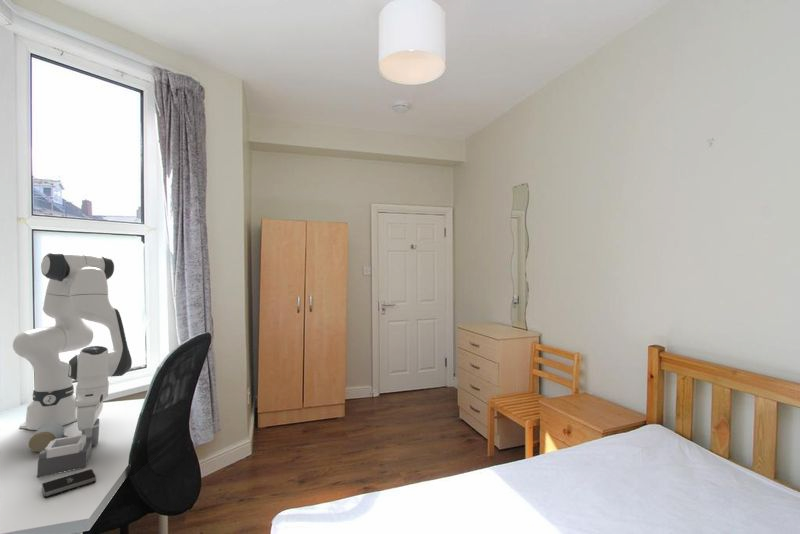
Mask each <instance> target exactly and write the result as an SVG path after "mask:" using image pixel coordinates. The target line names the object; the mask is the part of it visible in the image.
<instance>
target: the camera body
mask: <svg viewBox="0 0 800 534" xmlns="http://www.w3.org/2000/svg"><path fill="white" fill-rule="evenodd" d="M91 443H92V440H91V441H86V435H85V434H83V435H82V434H78V435H72V436H69V437H64V438H58V439H54V441H51V442H50V443H49V444H48V446H47V447H46V448H45V450H43V451H41V452H39V454H38V460H37V475H36V477H37V478H41V477H40V476H42V477H46V476H45V475H47V476H51V474H52V475H56V474H55V473H57V474H60V473H59V472H62V473H65V472H64V471H67V472H69V471H68V470H71V471H74V470H73V469H76V470H80V469H79V468H81V469H85V468H84V467H86V468H87V466H86V465H88V463H89V461H90V459H91V457H92V446H91Z"/></svg>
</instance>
